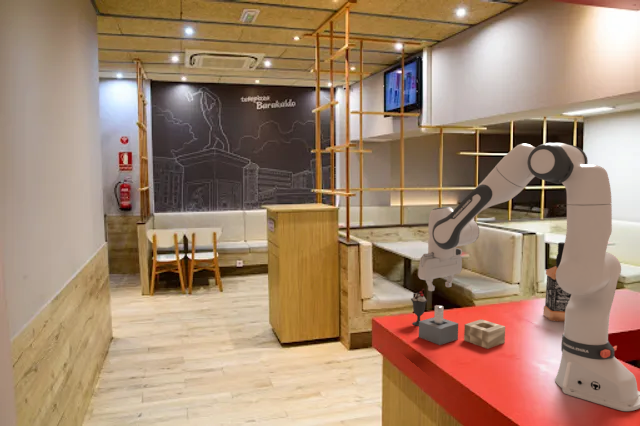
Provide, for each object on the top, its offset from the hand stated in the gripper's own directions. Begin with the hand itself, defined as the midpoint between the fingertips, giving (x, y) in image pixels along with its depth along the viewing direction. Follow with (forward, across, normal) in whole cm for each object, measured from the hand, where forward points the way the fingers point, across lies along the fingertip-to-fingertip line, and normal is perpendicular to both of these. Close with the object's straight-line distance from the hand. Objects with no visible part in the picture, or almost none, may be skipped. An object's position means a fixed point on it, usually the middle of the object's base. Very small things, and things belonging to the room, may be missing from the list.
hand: (440, 288), depth 175 cm
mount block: (+19, +11, -12) cm, 25 cm away
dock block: (+19, 0, 0) cm, 19 cm away
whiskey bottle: (+19, +60, -14) cm, 64 cm away
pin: (+19, 0, 0) cm, 19 cm away
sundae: (+19, +6, +16) cm, 25 cm away
